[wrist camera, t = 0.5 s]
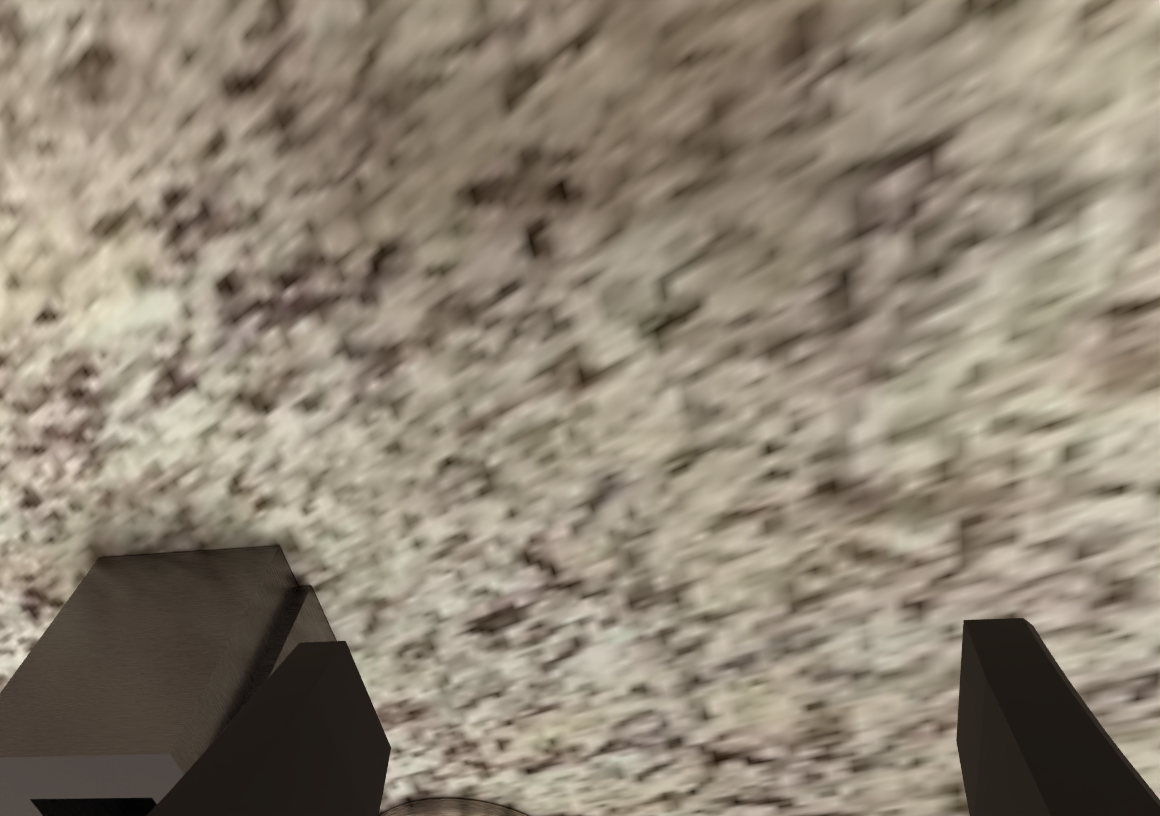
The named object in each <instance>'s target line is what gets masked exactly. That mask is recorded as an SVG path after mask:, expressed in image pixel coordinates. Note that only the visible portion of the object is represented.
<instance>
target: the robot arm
mask: <svg viewBox="0 0 1160 816" xmlns="http://www.w3.org/2000/svg"><path fill="white" fill-rule="evenodd" d="M957 746H958V752H959V758H960V763H961V769H962V775H963V780H964V786H965V792H966V797H967V802H968V808H969V813H970V816H1160V800H1159V798H1158V797H1157V796H1156V795H1155V793H1154V792H1153V791H1152V790H1151V788H1150V787H1149V786H1148V785H1147V783H1146V782H1145V781H1144V780H1143V778H1142V777H1141V776H1140V775H1139V773H1138V772H1137V771H1136V770H1135V768H1134V767H1133V766H1132V765H1131V763H1130V762H1129V761H1128V760H1127V758H1126V757H1125V756H1124V755H1123V753H1122V752H1121V751H1120V749H1119V748H1118V747H1117V746H1116V744H1115V743H1114V742H1113V740H1112V739H1111V738H1110V736H1109V735H1108V734H1107V732H1106V731H1105V730H1104V728H1103V727H1102V726H1101V724H1100V723H1099V722H1098V720H1097V719H1096V718H1095V716H1094V715H1093V713H1092V712H1091V711H1090V709H1089V708H1088V707H1087V705H1086V704H1085V702H1084V701H1083V700H1082V698H1081V697H1080V696H1079V694H1078V693H1077V691H1076V690H1075V688H1074V687H1073V686H1072V684H1071V683H1070V681H1069V680H1068V678H1067V677H1066V676H1065V674H1064V673H1063V671H1062V670H1061V668H1060V667H1059V665H1058V664H1057V662H1056V661H1055V659H1054V658H1053V656H1052V655H1051V653H1050V652H1049V650H1048V649H1047V647H1046V646H1045V644H1044V642H1043V641H1042V639H1041V638H1040V636H1039V634H1038V633H1037V631H1036V630H1035V628H1034V626H1033V625H1032V624H1030V623H1029V622H1028V621H1026V620H1025V619H1024V618H1013V619H983V620H964V624H963V641H962V657H961V674H960V691H959V707H958V724H957ZM390 750H391V747H390V744H389V742H388V740H387V737H386V735H385V733H384V730H383V728H382V726H381V723H380V721H379V719H378V716H377V714H376V712H375V709H374V707H373V704H372V702H371V700H370V697H369V695H368V693H367V690H366V688H365V686H364V683H363V681H362V679H361V676H360V674H359V672H358V669H357V667H356V665H355V662H354V660H353V658H352V655H351V653H350V650H349V648H348V646H347V643H346V641H330V642H300V643H299V644H298V645H297V646H296V647H295V648H294V649H293V651H292V652H291V653H290V654H289V655H288V656H287V657H286V658H285V660H284V661H283V662H282V663H281V664H280V665H279V666H278V668H277V669H276V670H275V671H274V672H273V673H272V674H271V676H270V677H269V678H268V679H267V680H266V681H265V683H264V684H263V685H262V686H261V687H260V688H259V690H258V691H257V692H256V693H255V694H254V695H253V696H252V698H251V699H250V700H249V701H248V702H247V703H246V705H245V706H244V707H243V708H242V709H241V710H240V712H239V713H238V714H237V715H236V716H235V717H234V719H233V720H232V721H231V722H230V723H229V724H228V726H227V727H226V728H225V729H224V730H223V731H222V732H221V734H220V735H219V736H218V737H217V738H216V739H215V741H214V742H213V743H212V744H211V745H210V746H209V747H208V748H207V750H206V751H205V752H204V753H203V754H202V755H201V756H200V757H199V759H198V760H197V761H196V762H195V763H194V764H193V765H192V766H191V768H190V769H189V770H188V771H187V772H186V773H185V774H184V775H183V777H182V778H181V779H180V780H179V781H178V782H177V783H176V784H175V786H174V787H173V788H172V789H171V790H170V791H169V792H168V793H167V794H166V796H165V797H164V798H163V799H162V800H161V801H160V802H159V803H158V804H157V805H156V806H155V807H154V808H153V809H152V810H151V811H150V812H149V813H148V814H147V815H146V816H378V814H379V809H380V805H381V800H382V795H383V790H384V784H385V778H386V773H387V767H388V761H389V756H390Z"/></svg>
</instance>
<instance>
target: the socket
mask: <svg viewBox="0 0 1160 816" xmlns="http://www.w3.org/2000/svg"><path fill="white" fill-rule="evenodd" d="M330 641H336V640H335V638H334V635H333V633H332V631H331V629H330V627H329V624H328V622H327V620H326V618H325V616H324V613H323V611H322V609H321V607H320V605H319V602H318V600H317V598H316V596H315V594H314V591H313V589H312V587H311V586H307V587H298V585H297V583H296V581H295V579H294V577H293V574H292V572H291V570H290V568H289V566H288V564H287V561H286V559H285V557H284V555H283V553H282V551H281V549H280V546H270V547H254V548H239V549H224V550H208V551H193V552H178V553H163V554H147V555H132V556H117V557H102V558H98V560H97V561H96V563H95V564H94V565H93V567H92V568H91V569H90V571H89V572H88V574H87V575H86V576H85V578H84V579H83V580H82V582H81V583H80V585H79V586H78V587H77V589H76V590H75V591H74V593H73V594H72V595H71V597H70V598H69V600H68V601H67V602H66V604H65V605H64V606H63V608H62V609H61V611H60V612H59V613H58V615H57V616H56V617H55V619H54V620H53V622H52V623H51V624H50V626H49V627H48V628H47V630H46V631H45V633H44V634H43V635H42V637H41V638H40V639H39V641H38V642H37V644H36V645H35V646H34V648H33V649H32V650H31V652H30V653H29V654H28V656H27V657H26V659H25V660H24V661H23V663H22V664H21V665H20V667H19V668H18V670H17V671H16V672H15V674H14V675H13V676H12V678H11V679H10V681H9V682H8V683H7V685H6V686H5V687H4V689H3V690H2V692H1V693H0V816H146V815H147V814H148V813H149V812H150V811H151V810H152V809H153V808H154V807H155V806H156V805H157V804H158V803H159V802H160V801H161V800H162V799H163V798H164V797H165V796H166V794H167V793H168V792H169V791H170V790H171V789H172V788H173V787H174V786H175V784H176V783H177V782H178V781H179V780H180V779H181V778H182V777H183V775H184V774H185V773H186V772H187V771H188V770H189V769H190V768H191V766H192V765H193V764H194V763H195V762H196V761H197V760H198V759H199V757H200V756H201V755H202V754H203V753H204V752H205V751H206V750H207V748H208V747H209V746H210V745H211V744H212V743H213V742H214V741H215V739H216V738H217V737H218V736H219V735H220V734H221V732H222V731H223V730H224V729H225V728H226V727H227V726H228V724H229V723H230V722H231V721H232V720H233V719H234V717H235V716H236V715H237V714H238V713H239V712H240V710H241V709H242V708H243V707H244V706H245V705H246V703H247V702H248V701H249V700H250V699H251V698H252V696H253V695H254V694H255V693H256V692H257V691H258V690H259V688H260V687H261V686H262V685H263V684H264V683H265V681H266V680H267V679H268V678H269V677H270V676H271V674H272V673H273V672H274V671H275V670H276V669H277V668H278V666H279V665H280V664H281V663H282V662H283V661H284V660H285V658H286V657H287V656H288V655H289V654H290V653H291V652H292V651H293V649H294V648H295V647H296V646H297V645H298V644H299V643H300V642H330Z"/></svg>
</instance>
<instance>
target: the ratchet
mask: <svg viewBox="0 0 1160 816" xmlns="http://www.w3.org/2000/svg"><path fill="white" fill-rule="evenodd" d="M380 816H527V815H524V814H522V813H520V812H517V811H514V810H511V809H508V808H506V807H502V806H498V805H494V804H491V803H485V802H480V801H474V800H465V799H447V798H442V799H427V800H421V801H415V802H411V803H407V804H403V805H400V806H398V807H395V808H392V809H390V810H389V811H387V812H385V813H383V814H382V815H380Z"/></svg>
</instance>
